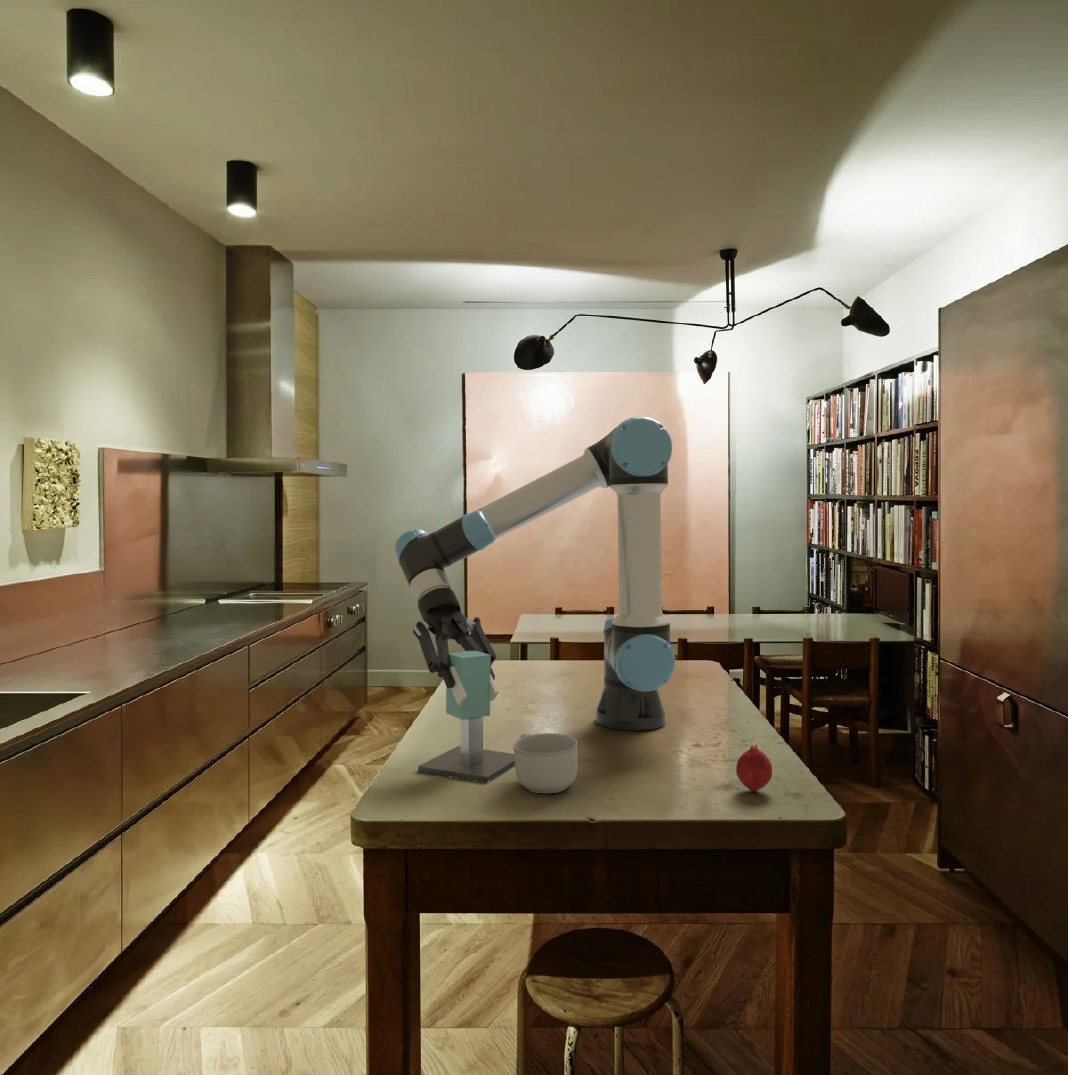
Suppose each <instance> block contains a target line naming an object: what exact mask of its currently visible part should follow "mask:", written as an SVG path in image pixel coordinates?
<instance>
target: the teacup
mask: <svg viewBox="0 0 1068 1075" xmlns="http://www.w3.org/2000/svg"><path fill="white" fill-rule="evenodd" d="M578 745H579V741H578V739H576V738H575V737H573V736H571V735H567V734H564V733H563V734H562V733H554V732H553V733H551V732H550V733H549V732H547V733H545V732H544V733H535V734H531V733H529V732H525V733H522V734H521V735H520V738H518V739H517V740H515V741H514V742H513V744H512V746H513V754H514V759H515V766H514V770H515V775H516V779H517V781H518V782H519V783H520V784H521V786H523V787H524V788H526V790H528V791H529V792H531V791H532V792H531V793H534V792H535V793H534V794H537V793H554V794H558V793H562V792H563V791H566V789H568V787H569V786H570V785H572V783H574V782H575V780H576V777H577V774H578V761H579V760H578V757H579V756H578Z"/></svg>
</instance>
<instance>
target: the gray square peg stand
mask: <svg viewBox="0 0 1068 1075" xmlns="http://www.w3.org/2000/svg"><path fill="white" fill-rule="evenodd" d="M459 720H460V731H459V732H460V745H458V746H454V747H453V748H451V749H449V750H447V751H445V752H443V753H442V754H440V755H437V756H435V757H434V758H431V759H430V760H429V759H428V760H427V761H426V762H424V763H422V764H420V765H417V771H418V772H417V773H423V772H424V773H423V774H429V773H430V775H434V776H435V775H436V776H442V777H443V776H444V777H448V776H452V777H451V778H454V777H458V778H457V779H460V778H464V779H463V780H466V779H470V780H469V781H473V780H477V781H476V782H479V781H484V782H483V783H485V782H488V781H490V780H491V779H493V778H494V777H496V776H498V777H499V776H501V775H503V774H504V773H505V771H506V770H507V771H509V770H510V769H512V768H514V767H515V759H514V753H511V752H506V751H505V752H504V751H497V750H491V749H490V750H489V749H484V717H478V718H471V719H465V720H461V719H459ZM513 766H514V767H513ZM509 768H510V769H509ZM508 769H509V770H508ZM507 771H506V772H507ZM503 772H504V773H503ZM500 774H501V775H500ZM496 778H497V777H496ZM494 779H495V778H494ZM494 779H493V780H494ZM491 781H492V780H491ZM491 781H490V782H491ZM488 783H489V782H488Z"/></svg>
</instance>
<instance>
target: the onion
mask: <svg viewBox="0 0 1068 1075" xmlns="http://www.w3.org/2000/svg"><path fill="white" fill-rule="evenodd" d="M735 770H736V771H735V772H736V776H737V778H738V780H739V781H740V782H741V784H742V785H743V786H744V787H745V788H747V789H748V790H749V791H751V792H752V791H753V792H752V793H756V792H758V791H759V790H761V789H762V788H764V787H765V786H767V785H768V784H769V783H770V781H771V779H772V776H773V765H772V762H771V760H770V759H769V757H768V756H767V755H766V754H765V753H764V751H762V750H760V749H759V747H758V744H757V743H755V742H754V743H751V744H750V748H749V749H748V750H745V751H744V752H743V753H742V754H741V755H740V756H739V758H738V759H737V762H736V767H735Z"/></svg>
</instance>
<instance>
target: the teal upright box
mask: <svg viewBox="0 0 1068 1075" xmlns="http://www.w3.org/2000/svg"><path fill="white" fill-rule="evenodd" d="M449 662H450V666H449V668H450V667H453V666H455V669H456V671H457V673H458V676H459V678H460V681H461V683H462V685H463V688H464V690H465V692H466V695H467V698H466V700H465V701H464V703H463V704H462V705H461V706H458V704H457V702H456V699H455V697H454V695H453V692H452V690H451V688H447V687H446V686H445V687H446V688H445V689H446V690H445V691H446V693H445V695H446V696H445V698H446V700H445V701H446V702H445V703H446V704H445V707H446V708H445V710H446V712H445V713H446V714H447V715H449V716H452V717H454V718H456V719H459V720H460V719H461V720H465V719H471V718H478V717H483V718H484V717H489V716H491V701H490V655H489V654H485V653H482V652H478V651H474V650H472V651H465V650H463V651H455V652H449Z"/></svg>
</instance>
